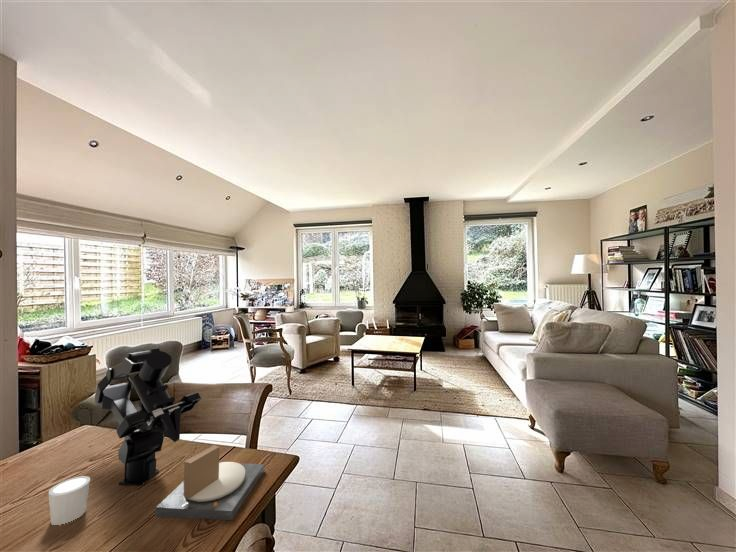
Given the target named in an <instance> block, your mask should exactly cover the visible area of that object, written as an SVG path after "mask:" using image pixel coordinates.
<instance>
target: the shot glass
mask: <svg viewBox="0 0 736 552" xmlns="http://www.w3.org/2000/svg"><path fill="white" fill-rule="evenodd" d="M90 483H91V477H89V476H87V475H86V476H85V475H84V476H83V475H80V476H75V477H72V478H68V479H65V480H63V481H61V482H59V483H57V484H56V485H54V486H52V487H51V488H50V489H49V490H48V500H49V503H48V505H49V514H50V525H52V526H53V525H59V526H62V525H61V524H64V525H66V524H65V523H67V524H69V523H68V522H70V523H72V522H74V521H76V520H78V519H79V518H80V517H82V516H83V515H84V514H85V512H86V508H87V503H88V497H89V489H90ZM77 518H78V519H77ZM75 519H76V520H75ZM73 520H74V521H73ZM71 521H72V522H71Z"/></svg>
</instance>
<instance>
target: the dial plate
mask: <svg viewBox="0 0 736 552" xmlns="http://www.w3.org/2000/svg"><path fill="white" fill-rule="evenodd" d="M238 463H239V462H238ZM239 464H241V465H242V466H243V467H244V468H245V479H244V481H243V483H242V484H241V485H240V486H239V487H238V488H237V489H236V490H235V491H233V492H232V493H230V494H228V495H226V496H224V497H222V498H219V499H215V500H211V501H205V502H197V501H192V500H189V499H188V498H186V497H184V480H182V481H181V483H180V484H179V485H178V486H176V488H175V489H173V491H172V492H170V493H169V494H168V495H167V496H166V497H165V498H164V499H163V500H162V501H161V502H160V503H158V504H157V506H156V507H155V516H154V517H157V518H176V519H177V518H179V519H181V518H182V519H198V520H199V519H200V520H222V521H232V520H233V519H234V517H235V515H237V513H238V511H239V510H240V508H241V507H242V505H243V504H244V502H245V501H246V499H247V498H248V496H249V494H250V493H251V492H252V490H253V489H254V487H255V486H256V484H257V483H258V481H259V480H260V478H261V477H262V475H263V474H264V473H265V464H264V463H239Z"/></svg>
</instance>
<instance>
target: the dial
mask: <svg viewBox="0 0 736 552" xmlns="http://www.w3.org/2000/svg"><path fill="white" fill-rule="evenodd" d="M183 464H184V465H183V468H184V469H183V481H184V497H186V498H188V499H189V500H192V501H197V502H205V501H211V500H215V499H219V498H222V497H224V496H226V495H228V494H230V493H232V492H233V491H235V490H236V489H237V488H238V487H239V486H240V485H241V484H242V483H243V481H244V479H245V468H244V467H243V466H242V465H241V464H239V462H236V461H235V462H234V461H222V462H220V446H219V445H218V446H217V445H215V444H213V445H212V446H209V447H208V448H206V449H204V450H202V451H201V452H199V453H196V454H195V455H193V456H191V457H189V458H188V459H186V460H184V463H183Z"/></svg>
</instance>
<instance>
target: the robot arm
mask: <svg viewBox="0 0 736 552" xmlns="http://www.w3.org/2000/svg"><path fill="white" fill-rule="evenodd" d="M172 360H173V359H172V355H170V354H168V353H167V352H165V351H162V350H161V349H160V347H156V348H150V349H149V350H144V351H135V352H128V353H126V355H125V356H123V358H122V362H120V363H118V364H116V365H114V366H110V367H109V368H107V370H106V374H105V376H104V377H102V379H101V380H100V381H99V382H98V383H97V385H96V388H95V394H94V402H95V404H97V406H98V407H99V408H100V409H101V410H103V411H105V410H106V411H111V413H112V415H113V416H114V418H115V419H116V421H117V423H118V426H117V427H116V435H117V437H118V438H119V439H123V438H124V440H123V442H122V443H121V445H120V448H119V449H118V450H117V452H118V460H119V461H120V462H121V463H122V464H123V465H124V472H123V473H124V474H123V475H124V476H123V479H121V480H120V481H119V482H118V485H120V486H140V487H141V486H143V485H144V484H145V483H146V482H147V481H149V480H150V479H152V477H154V476H155V475H156V474H158V473H159V471H160V469H159V468H157V458H156V453H157V452H161V451H162V448H163V443H164V438H165V436H166V437H167V438H169V439H170V440H171V441H172V442H174V443H176V442H179V440H180V437H181V436H180V435H181V431H180V430H181V415H183V414H186V413H188V412H191V411H192V410H194V409H195V407H196V406H197V405H198V404H199V403H200V402H201V400H202V396H201V394H200V393H199V392H197V391H194V392H191V393H188V394H186V395H184V396H183V397H182V398H181V399H180V400H179V401H178V402H175V401H176V398H175V396H172V397H171V396H170V394H169V392H168V389H169V385H168V384H164V383H163V382H162V378H163V377H164V376H165V374H166V372H167V371H168V368H169V367H170V365H171V364H172ZM133 374H135V375H134V377H133V379H131V378H130V376H131V375H133ZM119 379H126V380H127V381H126V382H121V383H117V384H113V385H110V384H111V383H112V381H114V380H119ZM133 389H135V391H136V394H137V396H138V397H139V399H140V400H139V401H138V407H139V410H138V409H137V408H136V407H135V405H134V404H133V402H132V401H131V400H130V398H131V395H132V390H133ZM174 402H175V403H174Z"/></svg>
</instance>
